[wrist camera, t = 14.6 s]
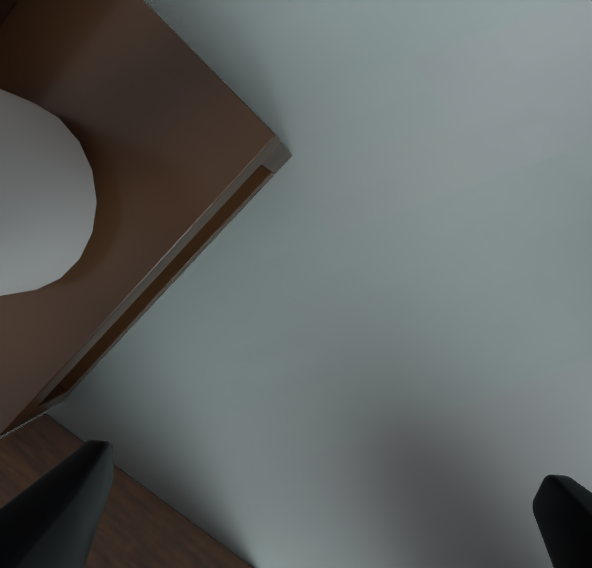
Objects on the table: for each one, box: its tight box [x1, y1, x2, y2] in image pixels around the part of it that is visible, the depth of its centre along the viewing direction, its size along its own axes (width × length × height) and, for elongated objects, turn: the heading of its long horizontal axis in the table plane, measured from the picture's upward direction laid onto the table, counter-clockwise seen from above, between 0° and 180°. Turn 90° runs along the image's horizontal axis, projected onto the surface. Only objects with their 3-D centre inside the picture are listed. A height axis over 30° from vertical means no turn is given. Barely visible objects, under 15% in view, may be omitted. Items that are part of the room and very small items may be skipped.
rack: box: [0, 0, 292, 436], centre depth 17 cm, size 12×18×8 cm, turn 135°
